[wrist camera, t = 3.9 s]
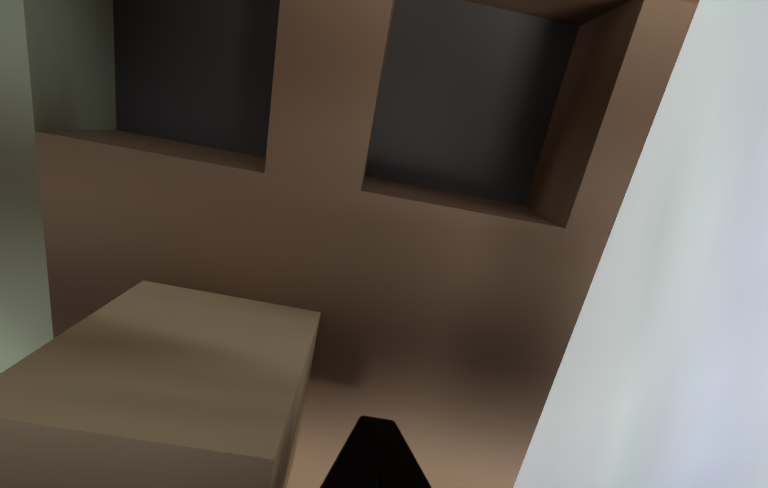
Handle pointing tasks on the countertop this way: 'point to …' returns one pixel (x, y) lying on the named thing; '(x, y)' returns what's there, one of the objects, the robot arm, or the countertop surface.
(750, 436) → the countertop surface
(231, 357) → the maple block
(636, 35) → the trap box
